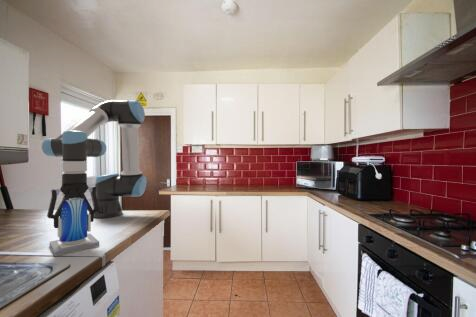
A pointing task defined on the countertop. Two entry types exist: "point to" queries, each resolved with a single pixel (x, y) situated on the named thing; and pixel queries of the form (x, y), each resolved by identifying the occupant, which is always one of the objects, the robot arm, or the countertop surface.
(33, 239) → the countertop surface
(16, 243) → the countertop surface
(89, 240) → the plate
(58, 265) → the countertop surface
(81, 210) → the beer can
